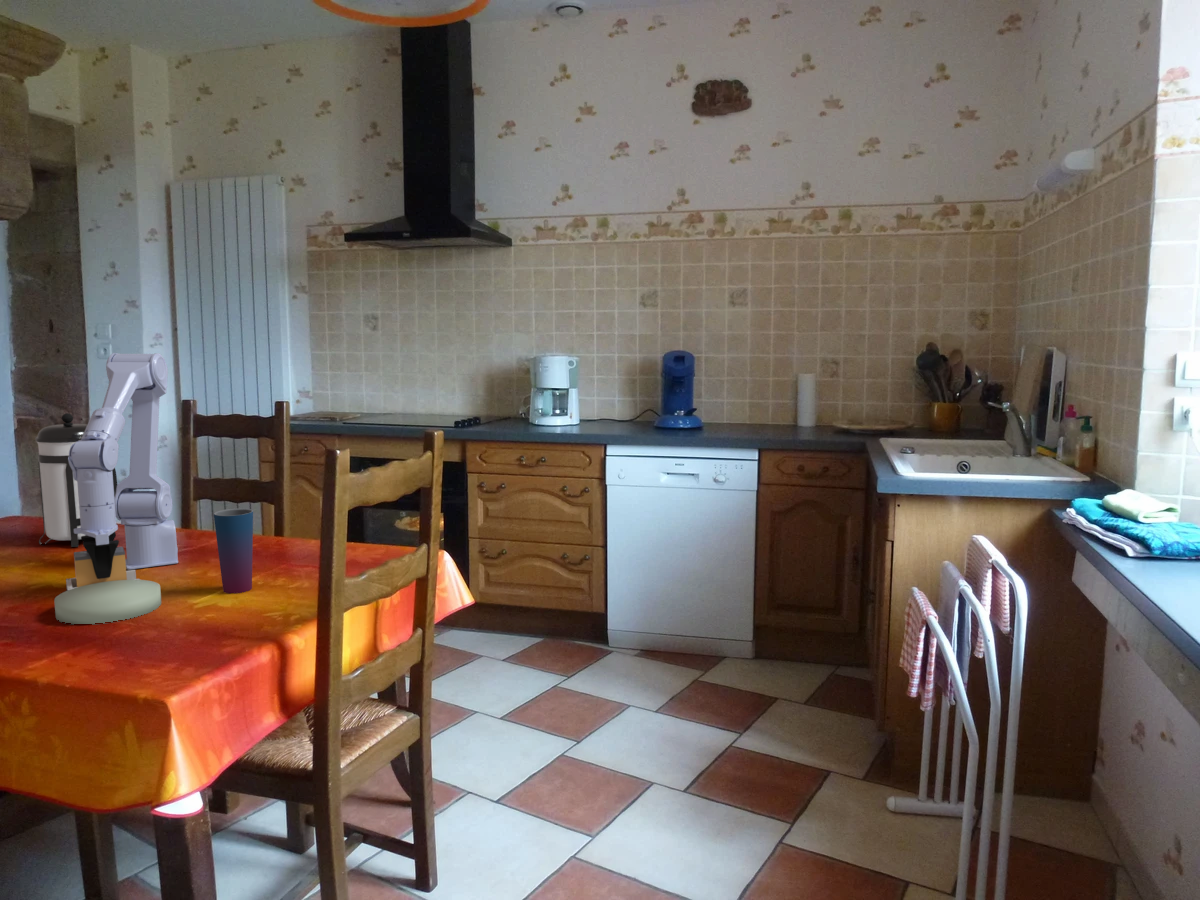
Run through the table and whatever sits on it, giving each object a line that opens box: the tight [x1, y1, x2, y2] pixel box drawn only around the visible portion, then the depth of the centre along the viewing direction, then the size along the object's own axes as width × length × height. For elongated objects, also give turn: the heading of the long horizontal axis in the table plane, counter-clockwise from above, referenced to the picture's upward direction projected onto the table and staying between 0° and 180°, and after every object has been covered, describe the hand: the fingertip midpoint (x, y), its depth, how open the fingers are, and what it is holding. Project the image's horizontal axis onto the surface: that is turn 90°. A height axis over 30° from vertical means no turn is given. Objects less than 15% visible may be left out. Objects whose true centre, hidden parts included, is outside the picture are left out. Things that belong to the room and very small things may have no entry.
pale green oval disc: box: [54, 569, 162, 625], centre depth 151 cm, size 16×26×3 cm, turn 34°
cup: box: [213, 507, 254, 594], centre depth 158 cm, size 7×7×15 cm
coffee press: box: [35, 412, 118, 548], centre depth 193 cm, size 17×16×30 cm
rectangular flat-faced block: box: [73, 546, 127, 587], centre depth 158 cm, size 8×4×6 cm, turn 124°
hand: (102, 574), depth 158 cm, fingers closed on rectangular flat-faced block, 4 cm apart
